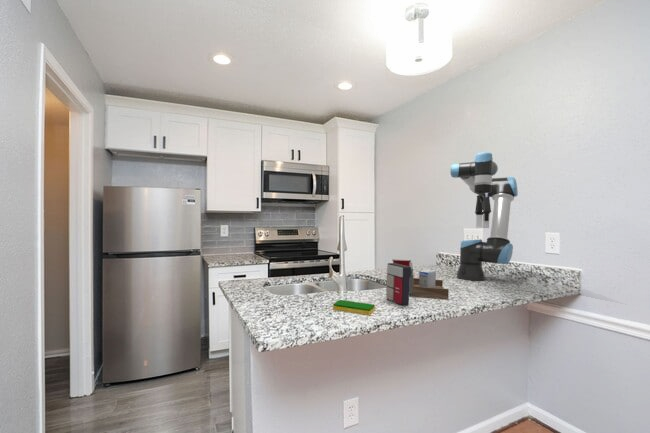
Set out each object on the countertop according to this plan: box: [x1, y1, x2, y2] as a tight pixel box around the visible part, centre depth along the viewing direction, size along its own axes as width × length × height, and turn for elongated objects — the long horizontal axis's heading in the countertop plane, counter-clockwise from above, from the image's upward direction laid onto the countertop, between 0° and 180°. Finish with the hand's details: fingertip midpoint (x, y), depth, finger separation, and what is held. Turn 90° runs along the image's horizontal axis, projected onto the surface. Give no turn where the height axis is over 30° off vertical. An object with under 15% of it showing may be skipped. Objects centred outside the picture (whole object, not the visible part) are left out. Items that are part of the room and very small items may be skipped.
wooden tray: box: [409, 262, 449, 300], centre depth 143 cm, size 22×16×12 cm
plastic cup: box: [391, 258, 412, 266], centre depth 171 cm, size 11×11×12 cm
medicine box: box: [418, 269, 437, 288], centre depth 142 cm, size 8×4×9 cm, turn 134°
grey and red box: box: [385, 262, 411, 306], centre depth 124 cm, size 11×4×15 cm, turn 23°
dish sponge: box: [332, 299, 376, 316], centre depth 111 cm, size 7×14×2 cm, turn 66°
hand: (482, 227), depth 149 cm, fingers open, 13 cm apart
